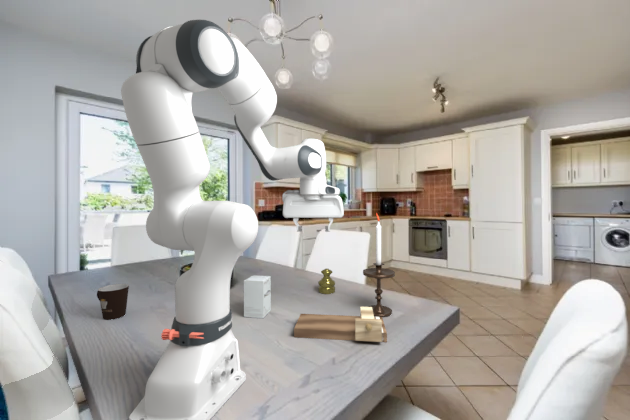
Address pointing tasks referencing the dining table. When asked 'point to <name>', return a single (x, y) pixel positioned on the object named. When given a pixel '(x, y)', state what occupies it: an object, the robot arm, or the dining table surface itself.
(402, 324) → the dining table surface
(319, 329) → the board
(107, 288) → the coffee mug
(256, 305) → the supplement box
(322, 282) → the gold metal tiered piece
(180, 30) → the robot arm
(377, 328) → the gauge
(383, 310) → the candlestick
